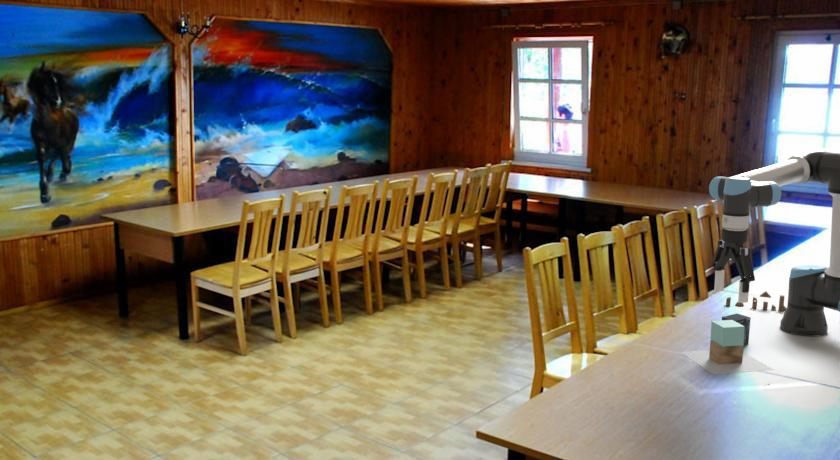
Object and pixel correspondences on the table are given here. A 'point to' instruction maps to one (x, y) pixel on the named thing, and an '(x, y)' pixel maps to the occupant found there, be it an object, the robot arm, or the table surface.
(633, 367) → the table surface
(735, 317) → the box
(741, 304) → the wooden blocks
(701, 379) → the table surface
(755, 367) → the board
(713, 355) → the base brick
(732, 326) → the teal brick
